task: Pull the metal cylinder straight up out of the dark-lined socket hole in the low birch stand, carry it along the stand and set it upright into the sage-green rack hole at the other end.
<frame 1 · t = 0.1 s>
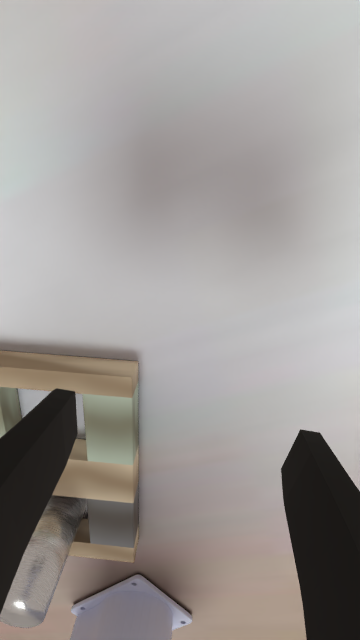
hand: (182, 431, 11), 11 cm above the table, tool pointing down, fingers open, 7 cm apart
tool stand: (62, 454, 26), on the table
metal cylinder: (67, 495, 27), resting in tool stand
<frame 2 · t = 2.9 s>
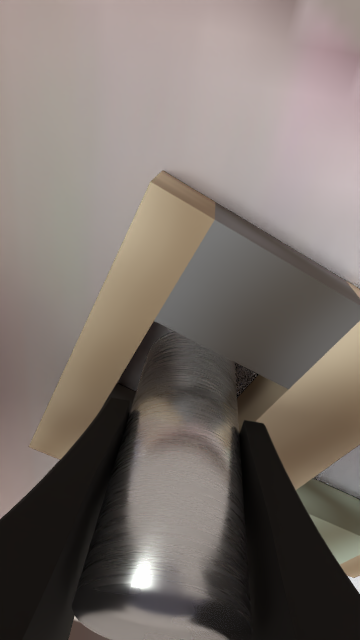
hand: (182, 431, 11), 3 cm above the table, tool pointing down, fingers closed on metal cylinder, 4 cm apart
tool stand: (281, 412, 14), on the table
metal cylinder: (189, 367, 13), resting in tool stand, touching gripper
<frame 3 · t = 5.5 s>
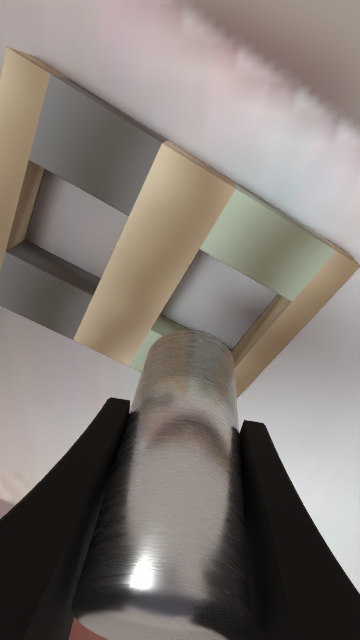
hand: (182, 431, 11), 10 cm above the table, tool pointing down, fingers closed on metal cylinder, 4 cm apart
tool stand: (151, 263, 19), on the table
metal cylinder: (189, 367, 13), point 7 cm above the table, touching gripper
when the fingers open (4 cm above the table, at t = 8.0 s): metal cylinder drops 1 cm, resting in tool stand.
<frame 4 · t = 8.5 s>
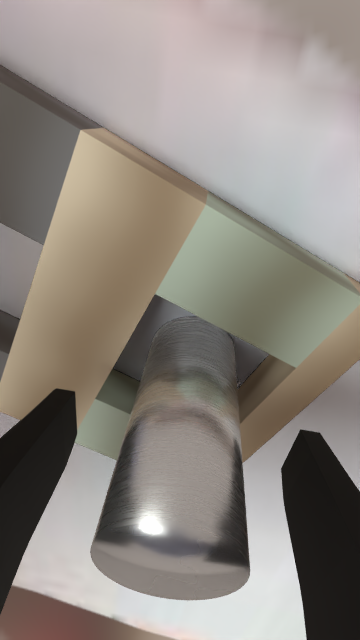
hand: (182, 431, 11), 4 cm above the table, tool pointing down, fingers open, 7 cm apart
tool stand: (96, 304, 13), on the table
metal cylinder: (192, 352, 14), resting in tool stand
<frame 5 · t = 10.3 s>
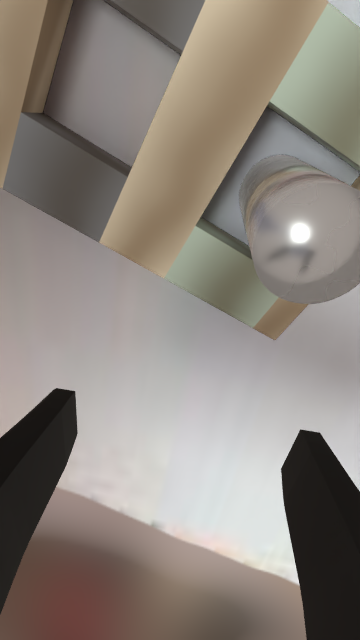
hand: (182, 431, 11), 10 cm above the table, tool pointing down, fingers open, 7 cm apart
tool stand: (197, 144, 15), on the table
metal cylinder: (275, 194, 16), resting in tool stand
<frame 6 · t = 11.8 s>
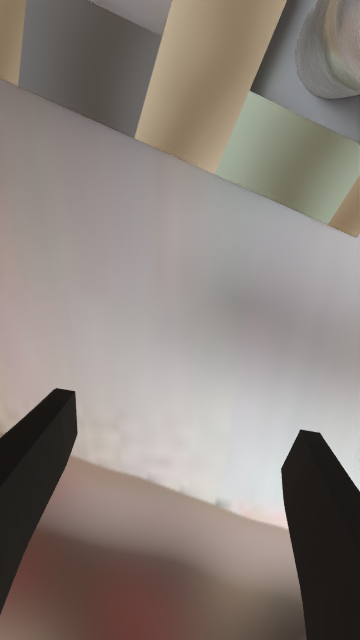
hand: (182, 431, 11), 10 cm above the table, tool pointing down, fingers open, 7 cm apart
metal cylinder: (342, 45, 13), resting in tool stand
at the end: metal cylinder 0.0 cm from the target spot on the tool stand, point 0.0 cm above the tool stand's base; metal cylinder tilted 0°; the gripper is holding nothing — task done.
